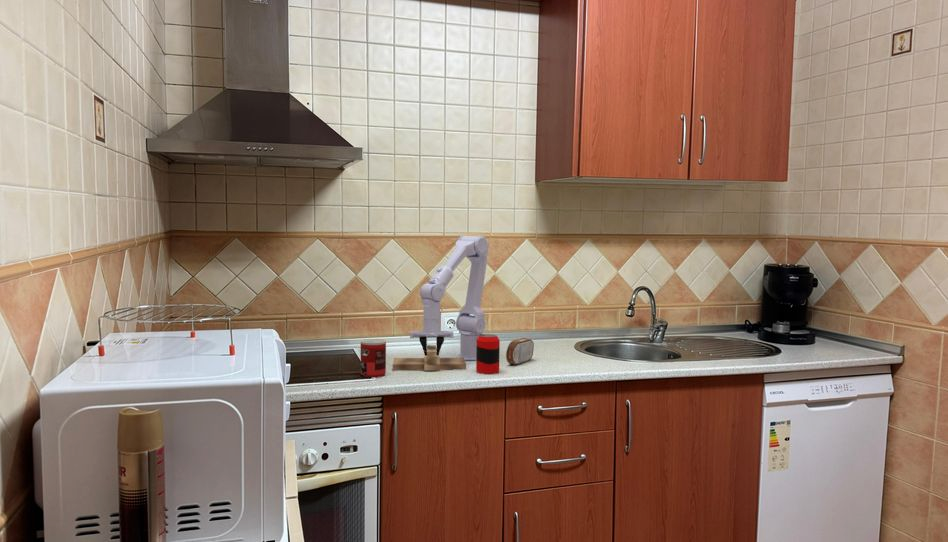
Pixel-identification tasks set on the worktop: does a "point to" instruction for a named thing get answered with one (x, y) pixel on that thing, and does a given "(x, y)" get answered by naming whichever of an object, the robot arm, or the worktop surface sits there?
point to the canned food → (373, 357)
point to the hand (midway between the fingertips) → (431, 358)
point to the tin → (519, 351)
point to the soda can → (487, 354)
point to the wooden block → (431, 359)
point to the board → (419, 363)
